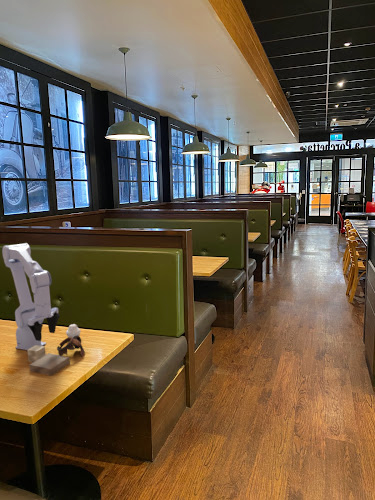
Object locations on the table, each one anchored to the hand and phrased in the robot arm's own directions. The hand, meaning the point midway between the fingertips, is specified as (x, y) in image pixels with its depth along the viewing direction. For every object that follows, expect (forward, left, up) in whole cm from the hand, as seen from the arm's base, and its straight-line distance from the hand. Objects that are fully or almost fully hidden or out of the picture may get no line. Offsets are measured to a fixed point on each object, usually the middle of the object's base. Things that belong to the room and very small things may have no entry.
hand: (45, 336), depth 146 cm
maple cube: (-3, -2, -10) cm, 10 cm away
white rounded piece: (-2, +19, -10) cm, 22 cm away
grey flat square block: (+6, -5, -10) cm, 12 cm away
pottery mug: (+7, +7, -10) cm, 14 cm away
